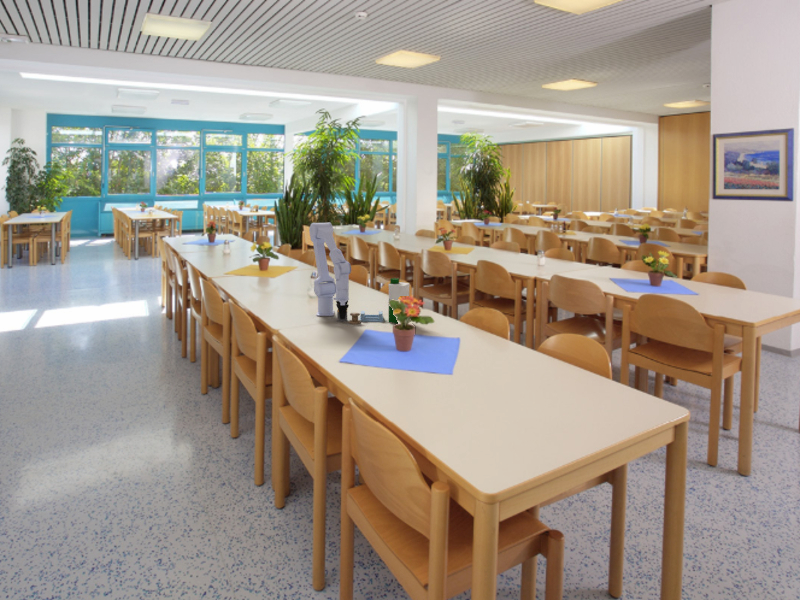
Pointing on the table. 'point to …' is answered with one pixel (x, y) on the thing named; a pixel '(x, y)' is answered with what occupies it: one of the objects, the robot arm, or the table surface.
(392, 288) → the soya milk
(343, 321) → the orange and grey block
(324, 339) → the table surface
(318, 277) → the robot arm
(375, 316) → the blue square socket
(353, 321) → the bobbin
